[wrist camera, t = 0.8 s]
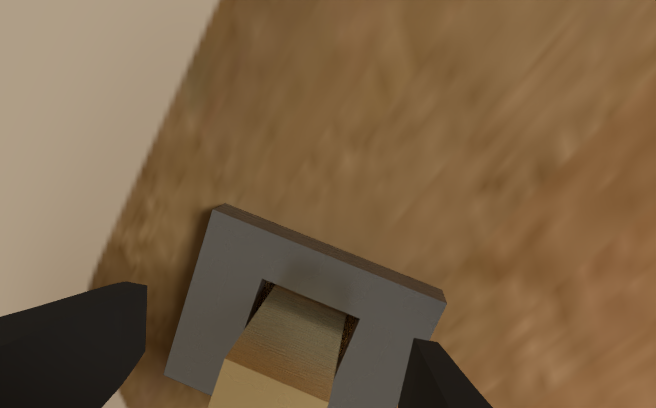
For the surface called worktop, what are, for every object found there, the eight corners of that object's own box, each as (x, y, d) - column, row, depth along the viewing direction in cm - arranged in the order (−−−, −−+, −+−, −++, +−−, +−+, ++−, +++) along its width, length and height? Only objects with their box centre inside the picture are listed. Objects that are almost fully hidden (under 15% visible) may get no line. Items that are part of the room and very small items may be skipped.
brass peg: (321, 370, 21) (292, 487, 14) (255, 342, 21) (195, 444, 14) (347, 309, 20) (328, 403, 13) (278, 281, 20) (224, 358, 13)
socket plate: (369, 441, 21) (368, 464, 20) (177, 358, 22) (163, 374, 20) (442, 290, 19) (446, 303, 17) (225, 203, 20) (212, 209, 18)
